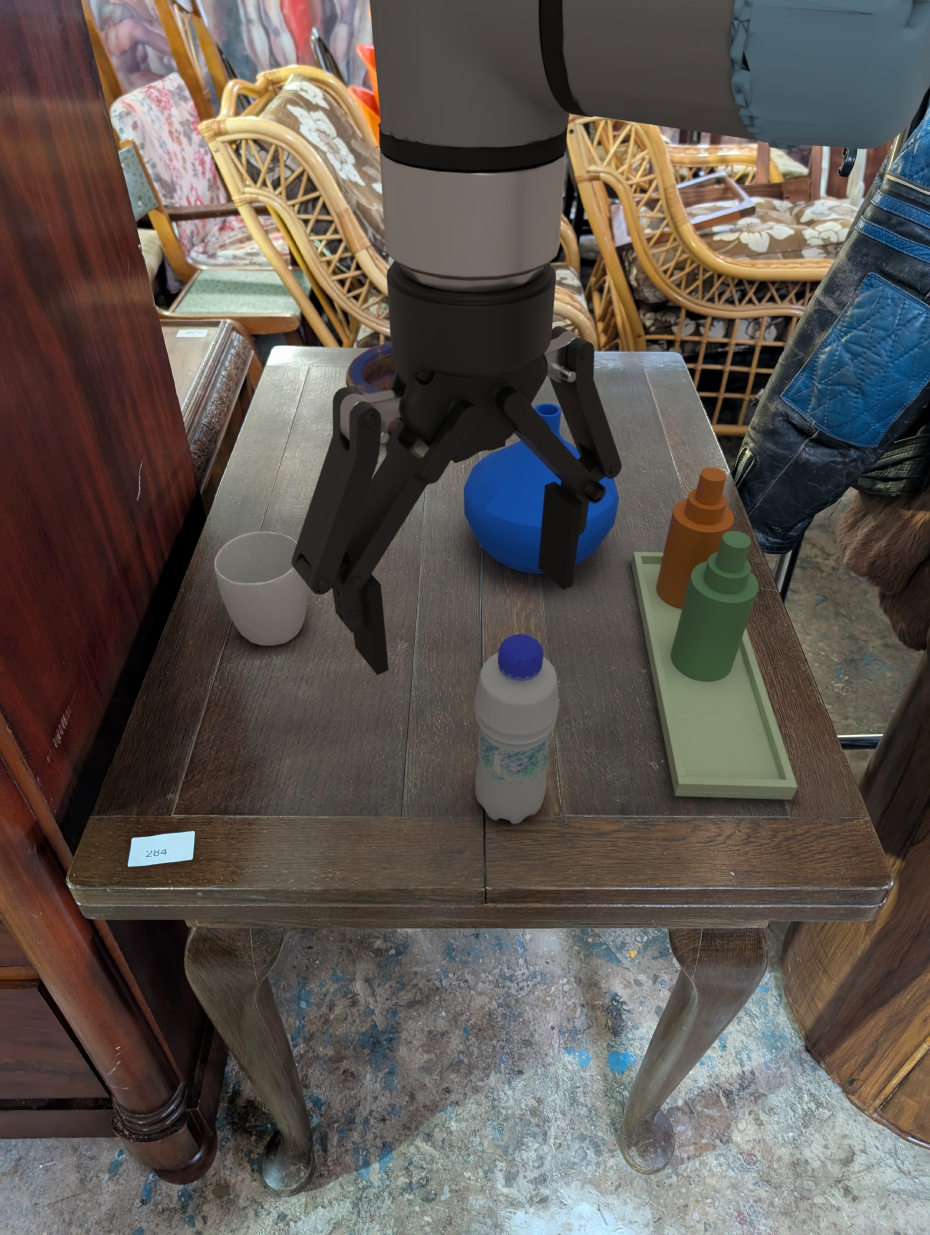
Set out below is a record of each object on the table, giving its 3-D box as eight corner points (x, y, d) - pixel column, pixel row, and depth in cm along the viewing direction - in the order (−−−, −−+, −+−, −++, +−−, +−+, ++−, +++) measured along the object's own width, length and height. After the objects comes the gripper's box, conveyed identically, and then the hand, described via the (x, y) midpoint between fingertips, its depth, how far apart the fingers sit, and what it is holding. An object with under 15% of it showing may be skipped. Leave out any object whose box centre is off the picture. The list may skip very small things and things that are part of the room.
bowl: (333, 447, 117) (325, 383, 110) (372, 391, 130) (367, 331, 123) (451, 462, 114) (450, 398, 107) (479, 403, 127) (480, 343, 120)
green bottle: (741, 678, 82) (784, 557, 71) (682, 684, 81) (716, 563, 71) (718, 635, 87) (755, 516, 76) (662, 641, 86) (691, 521, 75)
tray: (791, 800, 72) (798, 787, 71) (674, 796, 72) (678, 783, 71) (718, 566, 97) (721, 553, 95) (631, 564, 97) (633, 551, 96)
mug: (312, 652, 86) (299, 581, 79) (227, 658, 85) (207, 587, 78) (315, 577, 95) (304, 508, 88) (239, 582, 94) (222, 512, 88)
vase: (475, 604, 92) (478, 461, 79) (453, 512, 105) (452, 377, 92) (628, 589, 94) (656, 447, 81) (588, 501, 107) (605, 366, 94)
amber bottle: (720, 607, 90) (756, 488, 79) (666, 612, 90) (694, 493, 79) (700, 571, 95) (731, 455, 84) (648, 576, 94) (673, 459, 83)
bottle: (499, 758, 76) (508, 601, 62) (560, 793, 73) (583, 637, 59) (457, 807, 72) (457, 651, 58) (520, 846, 69) (535, 691, 55)
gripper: (627, 194, 42) (585, 520, 57) (162, 291, 32) (255, 658, 46) (734, 232, 38) (658, 577, 52) (231, 359, 27) (311, 743, 42)
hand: (468, 616), depth 49 cm, fingers open, 13 cm apart
